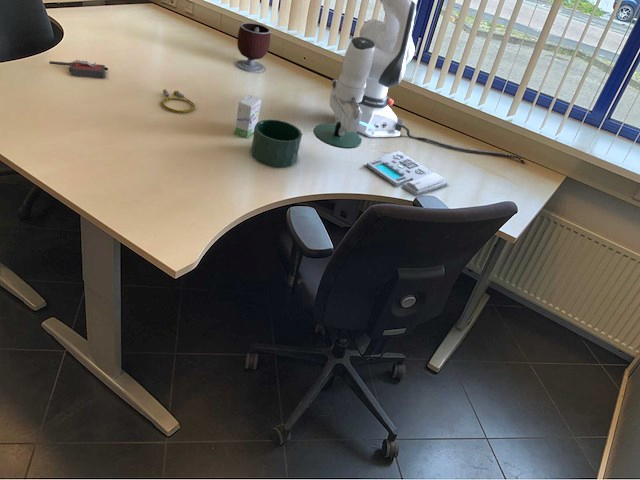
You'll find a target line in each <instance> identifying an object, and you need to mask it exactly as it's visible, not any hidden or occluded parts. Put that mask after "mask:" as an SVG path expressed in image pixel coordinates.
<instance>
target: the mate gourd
mask: <svg viewBox="0 0 640 480" xmlns="http://www.w3.org/2000/svg"><path fill="white" fill-rule="evenodd" d="M236 44H237V50H238V52H239V53H240V55H242V56H243V57H245V58H246V59H240V60H239V59H238V60H237V61H236V63H235V65H236V67H237V68H238V69H240V70H242V71H245V72H249V73H250V72H251V73H261V72H263V71H264V69H265V67H264V65H263V64H261V63H259V62H257V61H255V60H260V59H261V60H262V59H263V58H264V57H265V56H266V55H267V53H268V52H269V48H270V44H271V29H270V28H269V27H267V26H266V25H263V24H260V23H256V22H242V23H240V26H239V29H238V33H237V43H236Z"/></svg>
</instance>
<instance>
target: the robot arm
mask: <svg viewBox="0 0 640 480" xmlns="http://www.w3.org/2000/svg"><path fill="white" fill-rule="evenodd" d="M379 2H380V3H381V5H382V8H383V11H384V15H385V21H383V20H381V19H380V20H379V19H376V18H371V19H367V20H366V21H365V22H364V23H363V24H362V25H361V28H360V30H359V34H358V35H359V36H356V37H353V38H352V39H350V41H349V44H348V45H347V49H346V51H345V54H344V56H343V59H342V64H341V72H340V74H339V77H338V79H333V80H332V83H331V86H332V88H331V92H330V96H329V107H330V108H331V110H332V111H333V113H334V114H335V115H334V124H335V126H334V128H336V124H337V122H341V128H340V129H338V134H339V135H340V136H344V133H345V131H346V132H352V133H355V132H356V133H360V134H362V135H364V136H366V137H368V138H392V137H400V136H401V131H402V128H403V129H404V130H405V131H406V135H407V136H408V137H409V138H411V139H415V140H417V141H425V142H429V143H432V144H435V145H439V146H442V147H445V148H450V149H454V150H458V151H464V152H469V153H470V152H471V153H478V154H487V155H494V156H502V157H506V158H507V157H508V158H513V159H518V158H519V159H518V160H519V161H520V162H521V163H522V164H526V161H525V160H524V159H523V158H522V157H521V156H518V155H514V154H508V153H505V152H504V153H503V152H496V151H489V150H479V149H471V148H466V147H460V146H454V145H450V144H447V143H443V142H440V141H437V140H433V139H430V138H427V137H420V136H414V135H411V133H410V129H409V128H408V127H407V126H406V125H404V124H403V120H402V119H399V118H398V117H397V115H396V114H395V112H394V111H393V109H392V108H391V107H390V106H393V105H394V103H395V101H394V100H393V99H392V98H390V96H389V95H387V94H388V91H389V89H390V88H393V87H396V86H398V85H400V83H401V82H402V81H403V78H404V76H405V72H406V65H407V64H409V63H410V62H411V60H412V59H413V58H414V56H415V53H416V52H415V50H416V47H415V44H414V41H413V31H414V26H415V22H416V17H417V3H418V0H379ZM505 154H507V155H505ZM509 155H510V156H509ZM512 156H513V157H512ZM515 157H516V158H515ZM520 159H523V160H524V161H523V160H520Z"/></svg>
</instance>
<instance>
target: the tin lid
mask: <svg viewBox="0 0 640 480" xmlns="http://www.w3.org/2000/svg"><path fill="white" fill-rule="evenodd" d="M334 126H335V123H331V122H329V123H326V122H325V123H319V124H317V125H314V127H313V136H315V137H316V139H318V140H319V141H320V142H322V143H324V144H326V145H328V146H331V147H334V148H340V149H345V150H348V149H356V148H358V147H360V146H361V145H362V138H361V136H360V135H359V134H358V132H355V133H352V132H346V131H345V133H344V136H340V135H339V134H338V129H340V128H341V122H337V124H336V128H334Z"/></svg>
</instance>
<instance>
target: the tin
mask: <svg viewBox="0 0 640 480" xmlns="http://www.w3.org/2000/svg"><path fill="white" fill-rule="evenodd" d="M302 136H303V133H302V131H301V129H300V128H298V127H297V126H296V125H294V124H292V123H290V122H288V121H284V120H280V119H269V118H268V119H262V120H259V121H258V122H257V124H256V125H255V129H254V132H253V136H252V142H251V147H250V148H251V149H250V153H251V156H252V158H253V159H254V160H255V161H257V162H258V163H259V164H262V165H264V166H266V167H271V168H277V169H283V168H285V169H286V168H289V167H290V168H291V167H292V166H293V165H295V164H296V163H297V159H298V156H299V152H300V151H299V150H300V147H301V142H302Z"/></svg>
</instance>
